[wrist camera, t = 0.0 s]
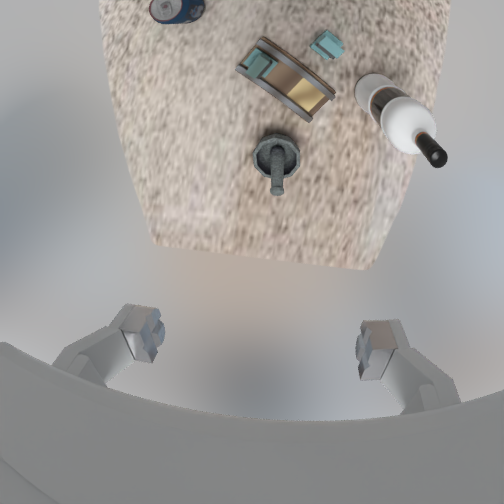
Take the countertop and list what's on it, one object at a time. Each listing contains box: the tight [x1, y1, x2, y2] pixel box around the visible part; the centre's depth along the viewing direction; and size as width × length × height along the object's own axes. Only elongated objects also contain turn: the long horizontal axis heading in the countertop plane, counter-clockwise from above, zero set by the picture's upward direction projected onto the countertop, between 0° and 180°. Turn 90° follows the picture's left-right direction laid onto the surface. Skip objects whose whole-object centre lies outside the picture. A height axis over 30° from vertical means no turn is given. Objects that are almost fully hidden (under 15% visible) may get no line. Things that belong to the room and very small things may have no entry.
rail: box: [235, 37, 336, 123], centre depth 43 cm, size 18×9×10 cm, turn 54°
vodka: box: [355, 73, 448, 168], centre depth 35 cm, size 9×9×30 cm
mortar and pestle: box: [253, 133, 300, 196], centre depth 54 cm, size 11×9×12 cm
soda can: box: [149, 0, 204, 24], centre depth 32 cm, size 7×7×12 cm
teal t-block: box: [310, 30, 344, 60], centre depth 37 cm, size 5×4×8 cm
